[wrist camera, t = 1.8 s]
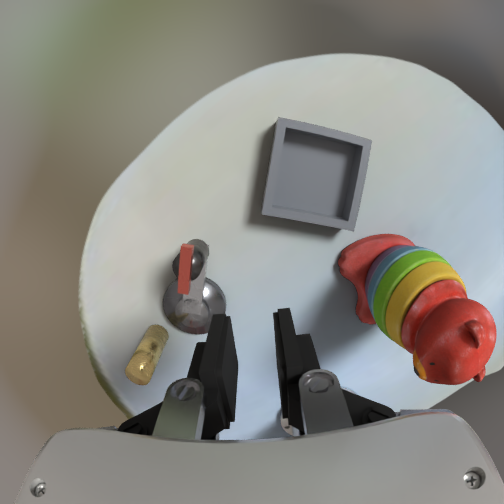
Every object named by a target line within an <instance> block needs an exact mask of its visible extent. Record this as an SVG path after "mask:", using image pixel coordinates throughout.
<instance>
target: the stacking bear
mask: <svg viewBox="0 0 504 504" xmlns="http://www.w3.org/2000/svg"><path fill="white" fill-rule="evenodd" d="M338 265H339V267H340V273H341V275H342V276H344V277H345V278H347V279H348V280H350V281H351V282H352V283H353V284H354V286H355V287H356V290H357V293H358V301H357V305H356V314H357V315H358V316H359V319H360V320H361V322H363V323H368V324H376V323H377V325H378V327H379V328H380V330H381V331H382V332H383V333H384V334H385V335H386V336H387V337H389V338H390V339H391V340H393V341H394V342H396V343H397V344H398V345H400V346H401V347H403V348H404V349H406V350H407V351H408V352H410V353H412V354H413V365H414V371H415V373H416V374H417V376H418V377H419V378H421V379H423V380H425V381H427V382H430V383H436V384H446V385H457V384H462V383H464V382H466V381H468V380H470V379H471V378H474V380H475V381H477V382H480V381H481V380H482V379H483V378H484V376H485V364H486V363H487V362H488V360H489V358H490V356H491V354H492V352H493V349H494V347H495V342H496V326H495V322H494V319H493V317H492V315H491V314H490V312H489V311H488V310H487V309H486V308H485V307H484V306H483V305H481V304H480V303H478V302H476V301H474V300H471V299H468V298H467V294H466V288H465V285H464V283H463V281H462V279H461V278H460V276H459V275H458V274H457V272H456V271H455V270H454V269H453V268H452V267H451V265H450V264H449V263H448V262H447V261H446V260H445V259H443V258H442V257H441V256H440V255H438V254H437V253H435V252H433V251H431V250H429V249H426V248H423V247H418V246H415V245H414V244H413V243H412V242H411V241H410V240H409V239H407V238H405V237H403V236H400V235H394V234H379V235H373V236H369V237H366V238H363V239H361V240H358V241H356V242H354V243H352V244H351V245H349V246H348V247H346V248H345V249H344V250H343V251H342V253H341V257H340V258H339V260H338Z"/></svg>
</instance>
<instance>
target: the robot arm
mask: <svg viewBox="0 0 504 504" xmlns="http://www.w3.org/2000/svg"><path fill="white" fill-rule="evenodd" d="M273 317H274V330H275V344H276V358H277V369H278V378H279V388H280V398H281V408H282V412H281V417H280V418H281V426H282V428H283V429H284V431H286V432H287V433H288V434H290V435H292V437H282V438H270V439H253V440H219V432H221V431H222V430H224V429H230V422H234V421H235V408H236V393H237V378H238V360H237V354H236V348H235V342H234V336H233V330H232V324H231V318H230V316H226V314H213V316H212V320H211V324H210V328H209V332H208V336H207V340H206V342H198V343H197V344H196V347H195V351H194V354H193V358H192V361H191V365H190V368H189V372H188V375H187V378H182V379H179V380H176V381H175V382H173V383H172V384H171V385H170V386H169V387H168V389H167V391H166V394H165V397H164V400H163V402H161V403H159V404H158V405H156V406H154V407H152V408H150V409H148V410H146V411H144V412H142V413H141V414H139V415H137V416H135V417H133V418H131V419H129V420H127V421H125V422H124V423H122V424H121V426H120V427H119V428H116V427H115V426H110V427H103V428H73V429H66V430H62V431H59V432H57V433H55V434H54V435H52V436H51V437H50V438H49V439H48V440H47V442H46V443H45V444H44V446H43V447H42V449H41V450H40V452H39V454H38V455H37V457H36V458H35V460H34V462H33V464H32V466H31V467H30V469H29V471H28V473H27V475H26V477H25V480H24V482H23V484H22V486H21V489H20V491H19V493H18V496H17V498H16V501H15V503H14V504H504V484H503V482H502V479H501V477H500V475H499V473H498V471H497V469H496V467H495V465H494V463H493V461H492V459H491V457H490V455H489V453H488V452H487V450H486V448H485V447H484V445H483V444H482V442H481V440H480V439H479V437H478V436H477V434H476V433H475V432H474V430H473V429H472V428H471V427H470V426H469V425H468V423H467V422H466V421H465V420H463V419H462V418H461V417H459V416H457V415H455V414H454V413H453V412H451V411H449V410H447V409H431V410H430V409H427V410H400V412H394V411H393V410H392V409H391V408H389V407H387V406H385V405H382V404H380V403H377V402H374V401H372V400H369V399H366V398H364V397H361V396H359V395H356V393H354V392H353V391H351V390H349V389H347V388H342V387H341V386H340V383H339V380H338V378H337V376H336V375H335V374H334V373H332V372H330V371H328V370H323V369H320V366H319V362H318V359H317V356H316V352H315V349H314V346H313V342H312V339H311V336H310V334H302V335H296V333H295V329H294V324H293V320H292V316H291V312H290V308H284V309H278V312H275V313H273Z"/></svg>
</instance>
